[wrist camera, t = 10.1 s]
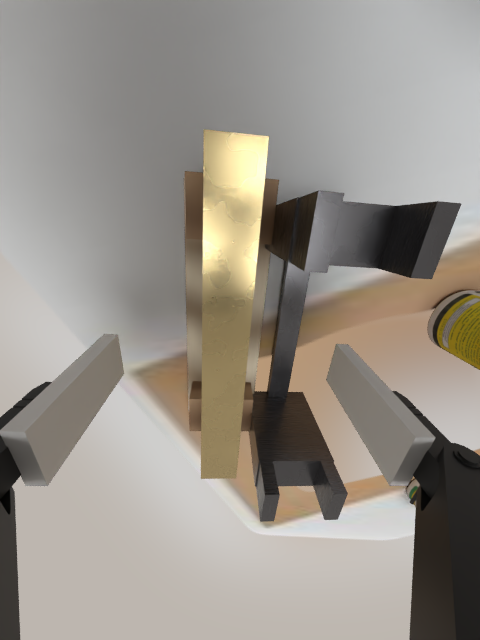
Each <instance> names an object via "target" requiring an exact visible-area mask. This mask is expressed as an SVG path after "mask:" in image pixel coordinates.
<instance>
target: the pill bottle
mask: <svg viewBox="0 0 480 640" xmlns="http://www.w3.org/2000/svg"><path fill="white" fill-rule="evenodd" d="M428 335H429V337H430V339H431V341H433V343H434V344H436V345H437V346H439V347H440V348H442V349H444V350H446V351H447V352H449V353H451V354H453V355H454V356H456V357H458V358H460V359H461V360H463V361H465V362H467V363H468V364H470V365H472V366H474V367H475V368H477V369H479V370H480V291H475V290H467V291H461V292H458V293H455V294H453V295H451V296H449V297H447V298H446V299H444V300H443V301H442V302H441V303H440V304H439V305H438V306H437V307H436V309H435V310H434V311H433V313H432V315H431V317H430V319H429V322H428Z"/></svg>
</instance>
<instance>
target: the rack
mask: <svg viewBox="0 0 480 640" xmlns="http://www.w3.org/2000/svg"><path fill="white" fill-rule="evenodd" d="M343 196H344V193H338V192H327V191H316V192H314V193H311V194H308V195H305V196H303V197H300V198H295V199H292V200H290V201H287V202H284V203H282V204H279V205H276V210H275V219H274V227H273V236H272V244H271V245H269V244H265V249H267V250H268V251H270V252H272V253H273V254H275V255H276V256H278V257H280V258H281V259H283V260H285V261H286V264H285V271H284V278H283V285H282V292H281V299H280V306H279V313H278V320H277V327H276V334H275V341H274V348H273V355H272V362H271V369H270V376H269V383H268V390H267V392H257V391H256V392H255V391H254V394H253V407H252V416H251V425H250V431H249V436H250V445H251V454H252V463H253V473H254V482H255V486H256V489H257V497H258V506H259V515H260V521H274V518H275V514H276V509H277V504H278V500H279V490H278V486H313V487H314V490H315V493H316V496H317V499H318V502H319V505H320V508H321V511H322V514H323V517H324V520H336V519H338V517H339V515H340V512H341V510H342V507H343V505H344V502H345V499H346V497H347V494H348V493H347V491H346V489H345V487H344V485H343V482H342V480H341V478H340V476H339V474H338V471H337V469H336V467H335V465H334V460H333V458H332V456H331V453H330V451H329V449H328V447H327V444H326V442H325V440H324V438H323V436H322V433H321V431H320V429H319V427H318V425H317V423H316V420H315V418H314V416H313V414H312V412H311V409H310V407H309V405H308V403H307V401H306V398H305V396H304V394H303V392H288V388H289V383H290V377H291V372H292V366H293V361H294V356H295V350H296V345H297V340H298V334H299V329H300V323H301V318H302V313H303V307H304V302H305V297H306V291H307V286H308V280H309V275H310V272H323V273H327V271H328V266H329V265H334V266H350V267H365V268H378V269H382V270H385V271H389V272H392V273H396V274H399V275H403V276H406V277H409V278H421V279H432V277H433V275H434V272H435V270H436V267H437V265H438V262H439V260H440V257H441V254H442V252H443V249H444V247H445V244H446V242H447V239H448V237H449V234H450V232H451V229H452V226H453V224H454V221H455V219H456V216H457V214H458V211H459V209H460V206H461V204H460V203H449V202H428V203H419V204H410V205H401V206H389V205H378V204H366V203H355V202H343Z"/></svg>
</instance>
